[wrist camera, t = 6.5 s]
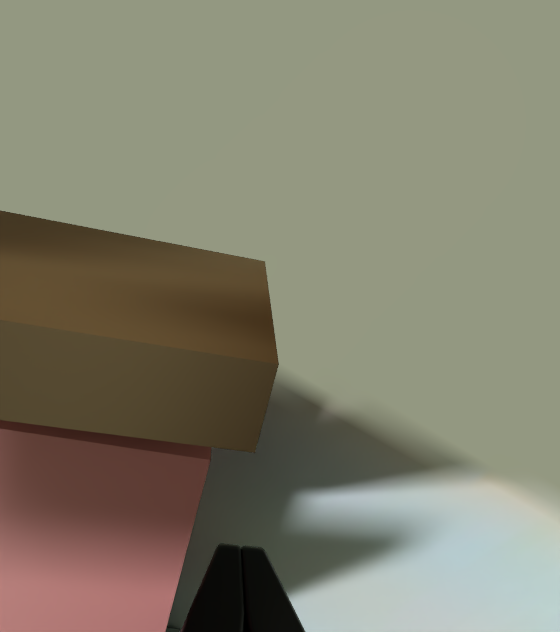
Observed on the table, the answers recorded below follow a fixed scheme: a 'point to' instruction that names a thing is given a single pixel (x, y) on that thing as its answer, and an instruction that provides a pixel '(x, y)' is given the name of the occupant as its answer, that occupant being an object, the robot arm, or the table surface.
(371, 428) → the table surface
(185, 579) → the table surface
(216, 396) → the shelf
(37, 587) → the block
